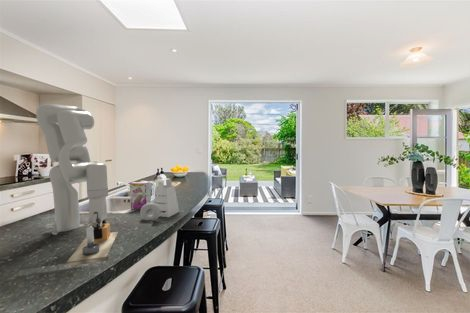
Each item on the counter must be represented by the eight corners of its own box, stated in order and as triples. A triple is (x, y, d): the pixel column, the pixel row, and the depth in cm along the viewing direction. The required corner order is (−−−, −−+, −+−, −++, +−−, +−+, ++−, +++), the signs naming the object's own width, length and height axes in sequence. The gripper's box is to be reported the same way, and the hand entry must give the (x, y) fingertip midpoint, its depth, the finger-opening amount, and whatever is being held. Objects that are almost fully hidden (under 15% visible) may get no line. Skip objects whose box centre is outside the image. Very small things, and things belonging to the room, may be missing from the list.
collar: (89, 242, 98) (88, 229, 98) (93, 236, 104) (93, 224, 104) (107, 239, 100) (106, 227, 100) (110, 234, 106) (109, 223, 106)
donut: (140, 223, 124) (139, 204, 123) (140, 221, 127) (139, 202, 126) (160, 221, 126) (159, 202, 126) (160, 219, 130) (160, 201, 129)
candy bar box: (130, 209, 152) (129, 183, 151) (135, 207, 157) (134, 181, 156) (146, 209, 150) (145, 183, 149) (151, 207, 155) (150, 182, 154)
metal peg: (80, 256, 85) (79, 229, 85) (85, 250, 90) (83, 224, 90) (97, 254, 87) (95, 227, 86) (100, 248, 92) (99, 223, 91)
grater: (152, 215, 137) (151, 180, 136) (164, 210, 147) (162, 177, 146) (168, 217, 134) (167, 180, 133) (179, 211, 144) (177, 178, 142)
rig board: (66, 266, 82) (66, 262, 82) (88, 238, 106) (88, 235, 106) (106, 260, 85) (106, 256, 85) (118, 235, 109) (118, 231, 109)
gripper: (93, 190, 108) (95, 229, 109) (80, 198, 92) (83, 244, 93) (111, 188, 110) (114, 227, 111) (103, 196, 94) (105, 241, 95)
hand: (100, 234), depth 102 cm, fingers open, 7 cm apart
